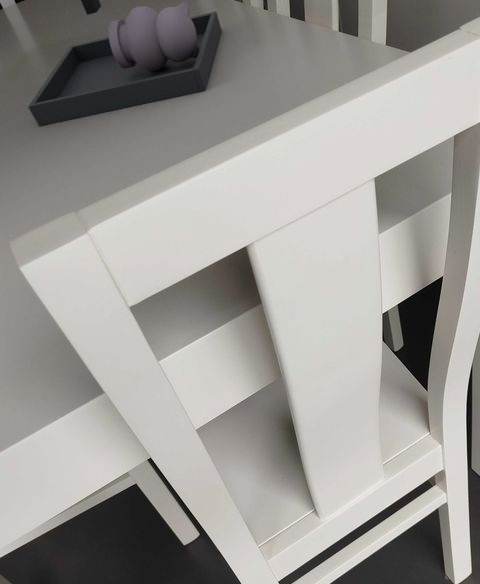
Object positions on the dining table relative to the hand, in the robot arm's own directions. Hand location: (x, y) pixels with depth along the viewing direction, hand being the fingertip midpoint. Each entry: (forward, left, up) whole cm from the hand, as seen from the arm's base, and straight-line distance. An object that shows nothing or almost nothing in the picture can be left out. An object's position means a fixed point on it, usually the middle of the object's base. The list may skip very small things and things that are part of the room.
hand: (94, 10), depth 84 cm
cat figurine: (+1, 0, -5) cm, 5 cm away
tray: (+2, 0, -10) cm, 10 cm away
